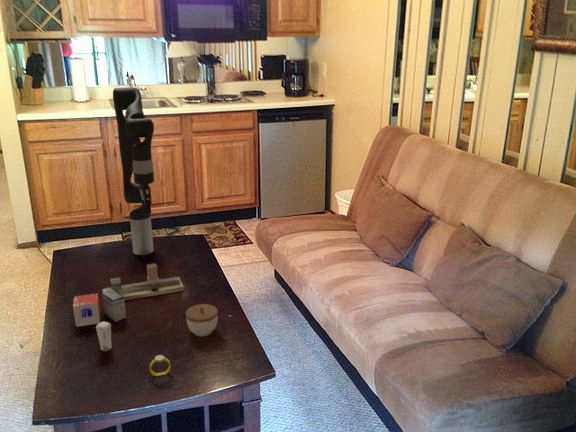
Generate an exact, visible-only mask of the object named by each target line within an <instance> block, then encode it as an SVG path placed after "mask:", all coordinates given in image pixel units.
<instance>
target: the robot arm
mask: <svg viewBox="0 0 576 432" xmlns="http://www.w3.org/2000/svg"><path fill="white" fill-rule="evenodd" d="M141 96H142V95H141V93H140V90H139V89H138V88H137V87H133V86H131V87H130V86H129V87H115V88H114V89H113V91H112V100H113V101H112V102H113V105H114V111H115V112H114V113H115V118H116V124H117V125H116V126H117V134H118V135H117V136H118V146H119V153H120V154H119V155H120V163H121V170H122V182H123V183H122V185H123V187H122V188H123V189H122V190H123V197H124V201H125V203H126V204H141V205H140V206H138V207H137V208H134V209H132V210H130V211H129V221H130V222H129V223H130V224H129V225H130V231H131V241H132V242H131V243H132V253H133V254H134V255H136V256H146V255H150V254H153V252H154V240H153V230H152V229H153V228H152V227H153V226H152V219H151V218H152V217H151V214H152V207H151V206H152V203H153V202H152V192H151V191H152V188H151V187H150V185H152V184H153V183H154V182H155V175H154V174H155V172H154V163H153V159H152V141H153V136H154V131H155V124H154V122H153V120H152V119H150V118H148V117H147V118H146V116H145V113H144V112H143V111H144V110H143V102H142V101H143V100H142V97H141ZM124 111H125V114H124ZM143 138H144V139H143ZM141 139H143V140H141ZM132 175H133V176H132ZM132 177H133V181H134V182H132Z"/></svg>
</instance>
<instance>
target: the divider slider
mask: <svg viewBox="0 0 576 432" xmlns="http://www.w3.org/2000/svg"><path fill="white" fill-rule="evenodd" d="M146 272H147V273H146V274H147V276H146V279H147V282H148V283H149V284H153V287H154V288H155V283H159V280H160V279H159V275H158V265H157V264H156V263H155V262H154V263H148V264H146Z"/></svg>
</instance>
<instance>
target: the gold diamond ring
mask: <svg viewBox="0 0 576 432" xmlns="http://www.w3.org/2000/svg"><path fill="white" fill-rule="evenodd" d="M162 362H166V363H168V368H167V369H166V370H165V371H161V372H160V371H159V372H155V371H153V370H152V367H153V365H154V364H155V363H162ZM171 367H172V366H171V361H170V360H169V359H168V358H167V357H165V356H164V355H162V354H157V355H156V356H155V357H154V359H152V360H151V361H150V364H149V372H150V374H151V375H152V376H153V377H160V376H166V375H167V374H169V372H170V371H171Z"/></svg>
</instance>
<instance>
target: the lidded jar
mask: <svg viewBox="0 0 576 432" xmlns="http://www.w3.org/2000/svg"><path fill="white" fill-rule="evenodd" d="M218 315H219V311H218V308H217V307H216V306H215V305H212V304H207V303H200V304H195V305H192V306H191V307H188V308H187V310H186V311H185V318H186V324H187V327H188V329H189V330H190V332H191V333H193V334H194V335H195V336H197V337H206V336H209V335H211V334H212V332H213V331H215V329H216V327H217V324H218V320H219V318H218Z"/></svg>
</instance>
